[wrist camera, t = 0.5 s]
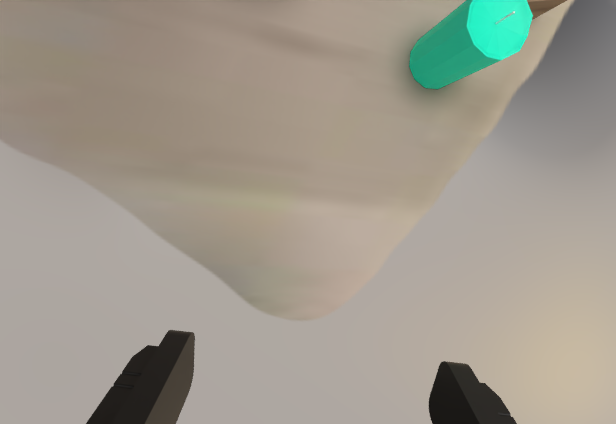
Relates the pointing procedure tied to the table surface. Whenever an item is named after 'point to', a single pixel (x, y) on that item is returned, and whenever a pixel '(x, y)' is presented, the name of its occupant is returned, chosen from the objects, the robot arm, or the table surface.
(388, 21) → the table surface
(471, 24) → the candle
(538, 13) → the walnut block
